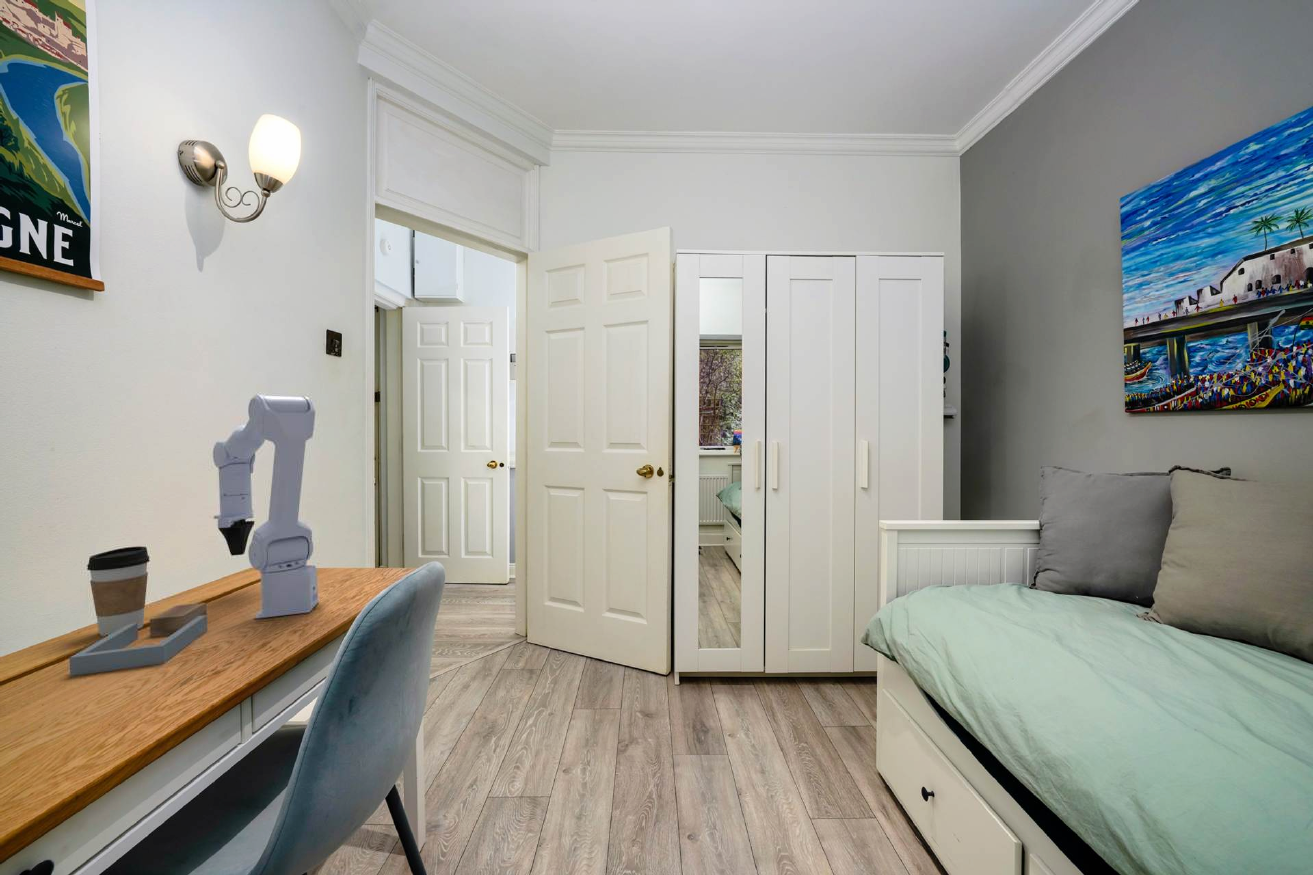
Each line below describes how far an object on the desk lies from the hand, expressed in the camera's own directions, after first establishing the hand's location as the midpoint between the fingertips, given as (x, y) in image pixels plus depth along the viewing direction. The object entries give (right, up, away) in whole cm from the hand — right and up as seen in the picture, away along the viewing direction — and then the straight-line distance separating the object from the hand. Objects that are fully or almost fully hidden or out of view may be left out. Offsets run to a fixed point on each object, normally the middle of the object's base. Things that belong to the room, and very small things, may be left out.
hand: (237, 554), depth 122 cm
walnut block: (+4, -10, -20) cm, 22 cm away
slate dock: (+8, -10, -31) cm, 33 cm away
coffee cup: (-6, -10, -20) cm, 23 cm away
